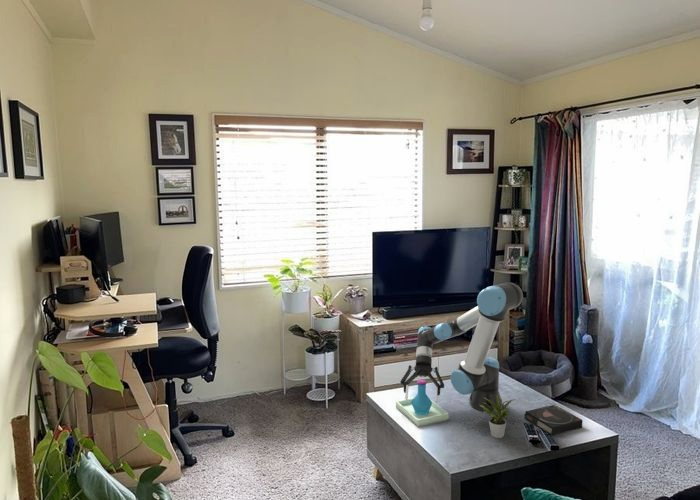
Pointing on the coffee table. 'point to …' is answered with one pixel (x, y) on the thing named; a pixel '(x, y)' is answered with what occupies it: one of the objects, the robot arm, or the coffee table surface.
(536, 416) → the dark brown book
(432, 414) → the parts tray
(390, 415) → the coffee table surface
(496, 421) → the house plant
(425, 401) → the perfume bottle
